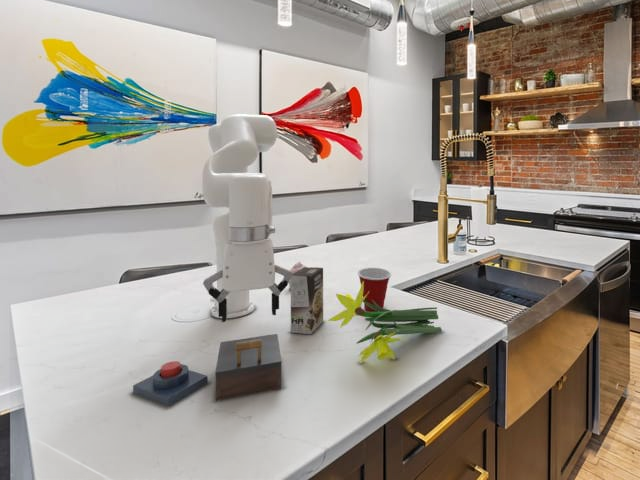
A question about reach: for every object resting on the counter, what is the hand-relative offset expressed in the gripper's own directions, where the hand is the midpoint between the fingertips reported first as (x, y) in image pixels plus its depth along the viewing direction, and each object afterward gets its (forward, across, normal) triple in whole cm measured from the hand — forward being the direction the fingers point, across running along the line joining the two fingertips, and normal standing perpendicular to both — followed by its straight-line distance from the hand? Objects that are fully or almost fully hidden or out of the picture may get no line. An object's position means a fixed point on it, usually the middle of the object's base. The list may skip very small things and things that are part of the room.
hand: (249, 316), depth 84 cm
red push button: (+12, +16, -7) cm, 21 cm away
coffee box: (+16, -16, -28) cm, 36 cm away
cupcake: (+15, -17, -64) cm, 68 cm away
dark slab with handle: (+11, 0, -5) cm, 12 cm away
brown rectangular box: (+16, 0, -6) cm, 17 cm away
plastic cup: (+16, -37, -35) cm, 53 cm away
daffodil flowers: (+16, -34, -8) cm, 39 cm away
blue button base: (+16, +16, -7) cm, 23 cm away
